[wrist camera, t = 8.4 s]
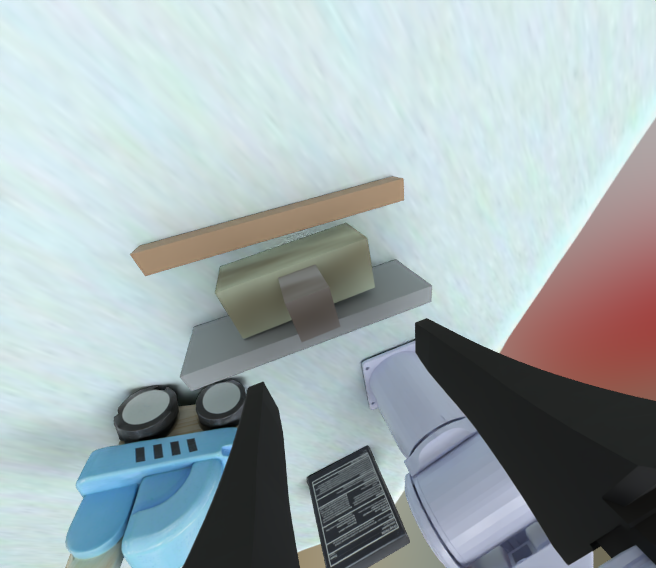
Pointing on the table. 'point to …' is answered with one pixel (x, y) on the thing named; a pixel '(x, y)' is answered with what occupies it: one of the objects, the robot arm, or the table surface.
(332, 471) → the small box
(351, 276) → the beige block with knob
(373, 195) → the grey and tan bars
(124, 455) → the toy excavator
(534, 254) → the table surface
